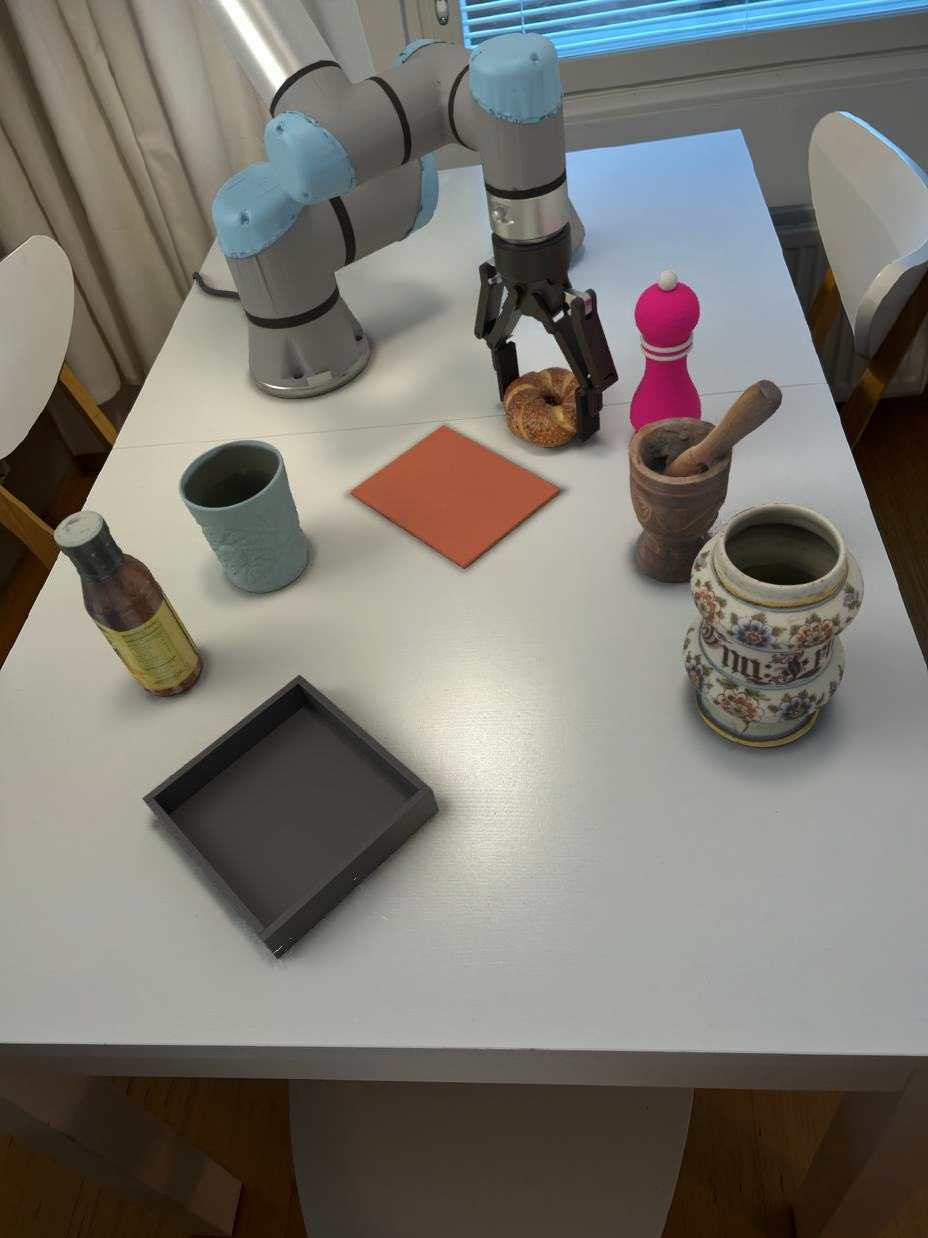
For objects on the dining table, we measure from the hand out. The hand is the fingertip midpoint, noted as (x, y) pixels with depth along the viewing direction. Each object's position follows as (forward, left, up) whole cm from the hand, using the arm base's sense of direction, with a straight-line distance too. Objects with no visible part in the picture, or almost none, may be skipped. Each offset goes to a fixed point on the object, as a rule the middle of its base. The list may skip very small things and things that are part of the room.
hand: (548, 414), depth 105 cm
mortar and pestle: (+25, -7, -1) cm, 26 cm away
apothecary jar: (+39, -17, -1) cm, 42 cm away
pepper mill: (+13, +4, -1) cm, 14 cm away
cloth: (0, -15, -1) cm, 15 cm away
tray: (+18, -50, -1) cm, 53 cm away
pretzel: (0, 0, 0) cm, 1 cm away
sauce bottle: (-3, -49, -1) cm, 49 cm away
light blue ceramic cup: (-8, -34, -1) cm, 35 cm away
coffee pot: (-29, +29, -1) cm, 41 cm away
